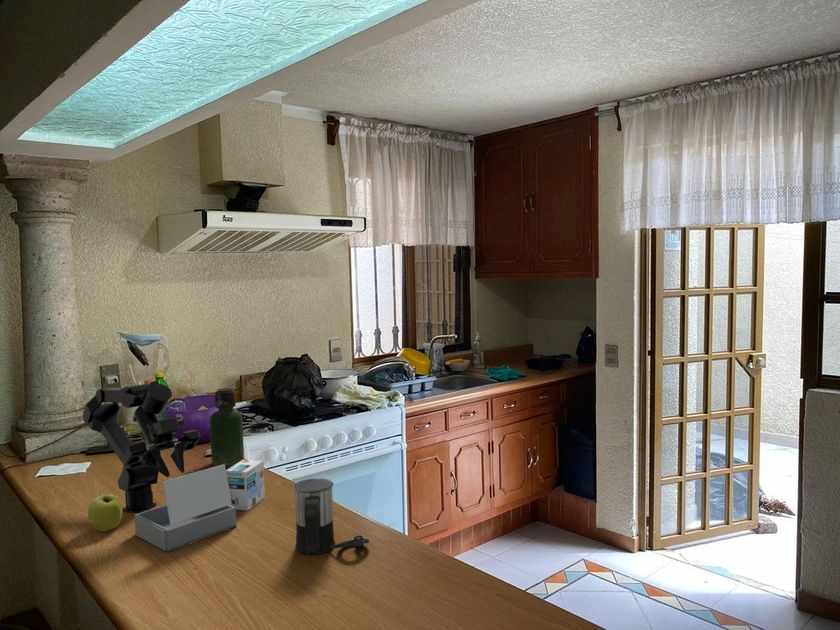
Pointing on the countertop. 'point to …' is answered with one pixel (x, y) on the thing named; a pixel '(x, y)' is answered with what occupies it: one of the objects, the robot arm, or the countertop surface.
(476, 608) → the countertop surface
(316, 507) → the milk frother
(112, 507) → the apple
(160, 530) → the grey shallow open box
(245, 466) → the light bulb box
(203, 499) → the grey box lid
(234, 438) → the green bottle
